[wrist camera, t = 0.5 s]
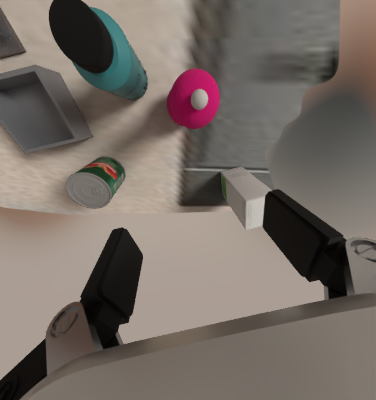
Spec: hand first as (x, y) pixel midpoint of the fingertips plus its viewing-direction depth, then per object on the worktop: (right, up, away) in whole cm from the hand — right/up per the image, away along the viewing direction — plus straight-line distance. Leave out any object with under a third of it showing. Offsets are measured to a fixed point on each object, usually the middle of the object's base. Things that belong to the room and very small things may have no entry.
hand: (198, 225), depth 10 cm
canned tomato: (-21, +9, +27) cm, 36 cm away
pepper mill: (-2, +22, +21) cm, 31 cm away
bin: (-29, +19, +20) cm, 40 cm away
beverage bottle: (-12, +25, +18) cm, 33 cm away
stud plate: (-34, +30, +12) cm, 47 cm away
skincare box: (+12, +7, +32) cm, 35 cm away
